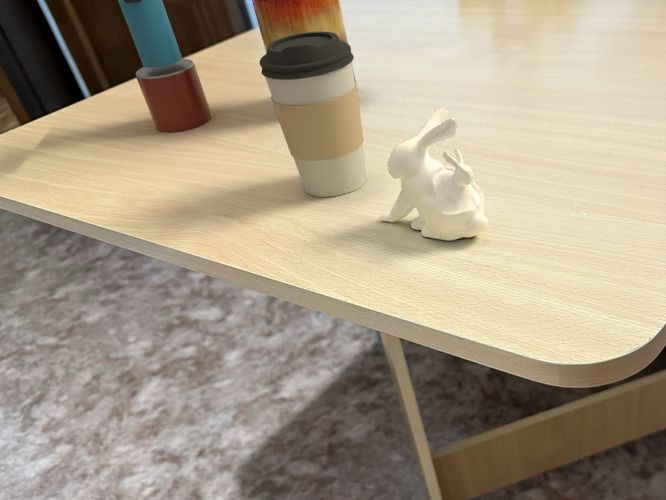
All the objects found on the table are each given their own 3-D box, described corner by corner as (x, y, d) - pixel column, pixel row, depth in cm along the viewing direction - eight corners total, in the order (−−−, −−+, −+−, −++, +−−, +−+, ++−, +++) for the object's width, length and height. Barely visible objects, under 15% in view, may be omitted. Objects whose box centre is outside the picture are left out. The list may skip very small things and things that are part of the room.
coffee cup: (300, 169, 79) (262, 30, 69) (378, 160, 79) (351, 19, 69) (289, 206, 72) (245, 56, 62) (375, 195, 72) (344, 43, 62)
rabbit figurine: (375, 220, 67) (355, 123, 61) (429, 190, 71) (415, 96, 65) (464, 255, 60) (452, 150, 54) (519, 220, 64) (513, 118, 58)
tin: (152, 136, 93) (129, 80, 88) (160, 116, 98) (140, 64, 94) (209, 126, 93) (190, 71, 89) (214, 107, 99) (196, 55, 95)
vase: (366, 106, 93) (333, -68, 80) (287, 124, 91) (240, -52, 78) (349, 84, 101) (316, -77, 88) (276, 100, 99) (232, -63, 86)
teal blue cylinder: (140, 70, 89) (97, -39, 81) (146, 59, 93) (106, -46, 85) (179, 64, 89) (141, -46, 81) (184, 53, 93) (148, -52, 85)
